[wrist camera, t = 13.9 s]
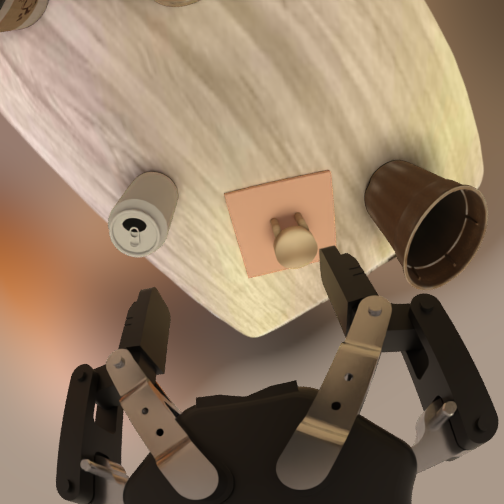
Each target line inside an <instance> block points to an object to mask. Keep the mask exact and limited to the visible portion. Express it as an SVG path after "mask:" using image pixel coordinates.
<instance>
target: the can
mask: <svg viewBox="0 0 504 504" xmlns="http://www.w3.org/2000/svg"><path fill="white" fill-rule="evenodd" d="M177 200H178V193H177V189H176V187H175V185H174V183H173V182H172V181H171V180H170V179H169V178H168V177H167V176H165V175H163V174H161V173H157V172H147V173H144V174H142V175H139V176H138V177H137V178H136V179H135V180H134V181H133V182H132V183H131V185H130V186H129V187H128V189H127V190H126V191H125V193H124V194H123V195H122V197H121V198H120V199H119V201H118V202H117V204H116V205H115V206H114V208H113V209H112V211H111V213H110V216H109V218H108V228H109V235H110V238H111V241H112V243H113V244H114V246H115V247H116V248H117V249H118V250H119V251H121V252H122V253H124V254H126V255H128V256H132V257H145V256H147V255H150V254H151V253H153V252H155V251H157V250H158V249H159V248H160V247H161V246H162V245H163V244H164V242H165V240H166V238H167V235H168V231H169V228H170V224H171V221H172V218H173V214H174V211H175V208H176V205H177Z"/></svg>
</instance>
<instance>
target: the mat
mask: <svg viewBox="0 0 504 504" xmlns="http://www.w3.org/2000/svg"><path fill="white" fill-rule="evenodd" d="M224 196H225V199H226V203H227V206H228V210H229V213H230V217H231V220H232V223H233V227H234V230H235V234H236V237H237V240H238V244H239V247H240V251H241V254H242V257H243V261H244V264H245V267H246V271H247V274H248V278H252V277H256V276H261V275H265V274H269V273H273V272H277V271H282V270H286V269H289V268H286V267H284V266H282V265H281V264H280V263H279V262H278V261H277V258H276V255H275V251H274V247H273V245H274V240H275V236H274V233H273V230H272V227H271V224H270V220H271V219H272V218H276V219H277V220H278V223H279V225H280V228H281V230H284V229H285V228H288V227H291V226H298V224H297V222H296V220H295V218H294V214H295V213H296V212H300V213H301V215H302V216H303V218H304V220H305V222H306V224H307V226H308V227H309V231H310V232H311V233H312V235H313V237H314V239H315V241H316V242H317V246H318V250H317V254H316V256H315V258H314V259H313V260H312V262H310V263H314V262H318V261H320V258H319V249H321V248H325V247H329V246H333V245H335V246H336V232H335V215H334V202H333V190H332V179H331V172H330V171H329V170H327V171H322V172H317V173H312V174H307V175H302V176H297V177H292V178H288V179H283V180H279V181H274V182H270V183H265V184H261V185H257V186H252V187H248V188H244V189H240V190H236V191H232V192H228V193H224ZM310 263H309V264H310Z"/></svg>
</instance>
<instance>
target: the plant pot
mask: <svg viewBox="0 0 504 504" xmlns="http://www.w3.org/2000/svg"><path fill="white" fill-rule="evenodd" d="M365 204H366V208H367V211H368V213H369V215H370V217H371V218H372V219H373V221H374V222H375V223H376V225H377V226H378V227H379V229H380V230H381V231H382V233H383V234H384V236H385V237H386V239H387V240H388V242H389V243H390V245H391V246H392V248H393V249H394V251H395V253H396V257H397V259H398V261H399V262H400V264H401V265H402V267H403V271H404V275H405V277H406V279H407V281H408V282H409V283H410V284H411V285H412V286H413V287H414V288H417V289H420V290H432V289H435V288H438V287H441V286H443V285H445V284H446V283H448V282H449V281H451V280H452V279H454V278H455V277H457V276H458V275H459V274H460V273H461V272H462V271H463V270H464V269H465V268H466V266H467V265H468V264H469V263H470V262H471V260H472V259H473V258H474V256H475V254H476V252H477V251H478V249H479V247H480V245H481V243H482V241H483V238H484V235H485V232H486V227H487V222H488V209H487V204H486V201H485V198H484V196H483V195H482V193H481V192H480V191H479V190H478V189H476V188H474V187H472V186H470V185H462V184H460V183H458V182H455V181H453V180H449V179H444V178H442V177H440V176H438V175H436V174H433V173H431V172H429V171H427V170H425V169H422V168H420V167H418V166H415V165H413V164H411V163H409V162H406V161H401V160H396V161H391V162H389V163H386V164H385V165H383V166H381V167H380V168H379V169H378V170H377V171H376V172H375V173H374V174H373V176H372V177H371V181H370V184H369V186H368V188H367V189H366V193H365Z"/></svg>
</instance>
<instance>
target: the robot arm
mask: <svg viewBox="0 0 504 504" xmlns="http://www.w3.org/2000/svg"><path fill="white" fill-rule="evenodd" d="M154 1H156V2H157V3H159V4H162V5H165V6H171V7H179V6H185V5H189V4H192V3H195V2H197V1H199V0H154ZM319 258H320V271H321V278H322V282H323V285H324V288H325V290H326V292H327V295H328V297H329V299H330V302H331V304H332V306H333V309H334V311H335V313H336V316H337V318H338V320H339V323H340V325H341V327H342V330H343V333H344V335H345V337H346V340H345V341H344V342H342V343H341V344H340V346H339V349H338V351H337V353H336V355H335V358H334V360H333V362H332V364H331V366H330V368H329V371H328V373H327V375H326V377H325V379H324V381H323V383H322V385H321V387H320V389H319V390H318V389H315V388H311V387H298V386H297V382H296V380H295V381H291V382H287V383H282V384H278V385H273V386H270V387H268V388H265V389H263V390H260V391H258V392H256V393H253V394H251V395H249V396H245V397H241V396H228V395H214V396H206V397H198V398H196V405H194V406H192V407H190V408H188V409H186V410H185V411H184V412H181V411H180V410H179V409H178V408H177V407H176V406H175V404H174V403H173V402H172V401H171V399H170V398H169V397H168V396H167V394H166V393H165V392H164V390H163V389H162V388H161V386H160V385H159V384H158V383H157V382H156V375H159V374H164V372H165V363H166V353H167V344H168V335H169V328H170V312H169V310H168V307H167V306H166V304H165V302H164V300H163V299H162V297H161V295H160V293H159V292H158V290H157V289H156V288H155V287H153V288H149V289H144V290H141V291H140V293H139V296H138V300H137V301H136V302H134V303H133V304H132V306H131V307H130V309H129V310H128V314H127V317H126V319H127V320H126V321H125V326H124V329H123V333H122V337H121V341H120V345H119V349H118V350H116V351H115V352H113V353H112V354H111V355H110V356H109V357H108V359H107V361H106V364H105V365H103V366H101V367H98V368H96V369H92V367H90V366H89V365H88V364H83V365H80V366H78V367H77V368H76V369H75V370H74V372H73V373H72V376H71V380H70V385H69V389H68V394H67V399H66V404H65V409H64V415H63V421H62V428H61V435H60V442H59V451H58V461H57V475H56V487H57V490H58V493H59V494H60V496H61V497H62V498H63V499H65V500H68V501H71V502H75V503H78V504H411V497H412V490H413V485H414V481H415V478H416V474H417V473H419V472H422V471H424V470H426V469H429V468H431V467H433V466H435V465H437V464H439V463H441V462H443V461H452V460H455V459H457V458H459V457H460V456H462V455H464V454H466V453H468V452H470V451H472V450H474V449H475V448H477V447H479V446H481V445H482V444H484V443H486V442H487V441H489V440H490V439H491V438H492V437H493V436H494V434H495V433H496V430H497V428H498V416H497V413H496V411H495V408H494V406H493V403H492V401H491V398H490V396H489V394H488V391H487V389H486V387H485V385H484V382H483V380H482V378H481V376H480V374H479V372H478V370H477V368H476V366H475V364H474V362H473V360H472V358H471V356H470V354H469V352H468V350H467V348H466V346H465V345H464V343H463V341H462V339H461V337H460V335H459V333H458V332H457V330H456V328H455V326H454V325H453V323H452V321H451V320H450V318H449V316H448V315H447V313H446V311H445V310H444V308H443V307H442V305H441V303H440V302H439V300H438V299H437V298H436V297H434V296H432V295H430V294H419V295H417V296H415V297H414V298H413V299H412V301H411V303H410V304H392V303H390V302H389V301H388V300H387V299H385V298H384V297H381V296H379V295H378V294H377V292H376V291H375V289H374V287H373V286H372V284H371V283H370V281H369V279H368V277H367V276H366V274H365V273H364V271H363V269H362V268H361V267H360V265H359V263H358V261H357V260H356V258H354V257H353V256H351V255H350V254H348V253H345V254H342V255H341V254H340V253H339V251H338V249H337V248H336V246H335V245H333V246H329V247H325V248H321V249H319ZM397 351H398V352H399V351H401V353H402V355H403V358H404V360H405V362H406V365H407V367H408V370H409V372H410V375H411V377H412V380H413V383H414V385H415V388H416V391H417V393H418V396H419V398H420V401H421V404H422V407H423V410H424V412H423V413H422V414H421V416H420V417H419V418H418V420H417V423H416V440H415V443H414V444H413V446H412V447H410V446H409V445H408V444H407V443H406V442H405V441H403V440H401V439H399V438H398V437H396V436H394V435H393V434H391V433H389V432H388V431H386V430H384V429H383V428H381V427H379V426H377V425H376V424H374V423H373V422H371V421H369V420H368V419H366V418H364V417H363V416H361V415H360V411H361V409H362V407H363V404H364V402H365V399H366V396H367V394H368V391H369V388H370V385H371V382H372V379H373V377H374V374H375V371H376V368H377V365H378V362H379V359H380V355H381V352H397ZM95 403H96V404H97V411H96V419H95V422H94V418H93V414H94V407H95ZM123 410H124V411H125V413H126V415H127V416H128V418H129V420H130V421H131V423H132V425H133V426H134V428H135V429H136V431H137V433H138V434H139V436H140V437H141V439H142V440H143V442H144V443H145V445H146V446H147V448H148V449H149V451H150V453H149V454H148V455H147V457H146V458H145V459H144V460H143V462H142V463H141V464H140V465H139V467H138V468H137V469H136V471H135V472H134V473H133V474H132V475H131V477H130V478H129V477H128V476H127V475H126V471H125V469H124V468H123V467H122V466H121V445H122V424H123Z"/></svg>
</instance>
